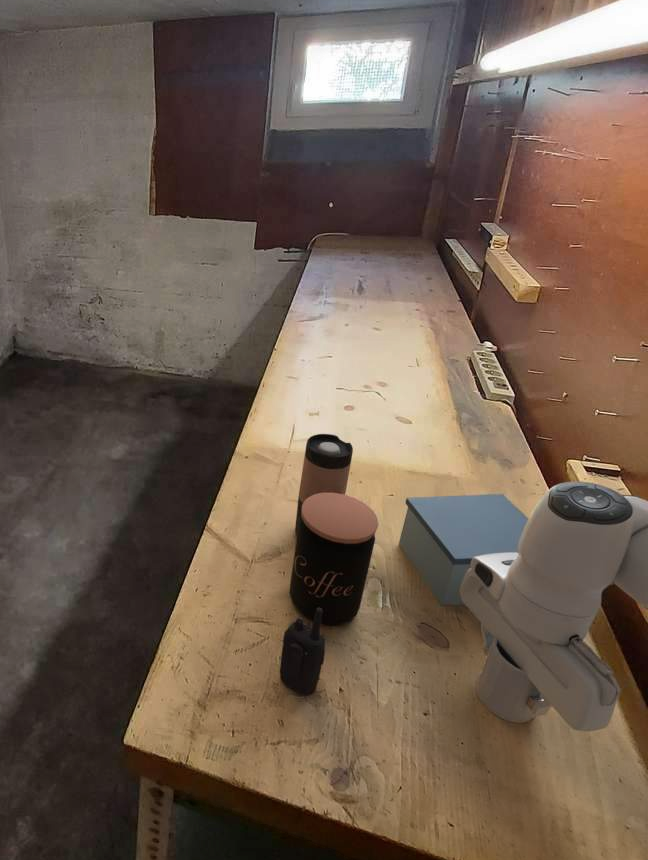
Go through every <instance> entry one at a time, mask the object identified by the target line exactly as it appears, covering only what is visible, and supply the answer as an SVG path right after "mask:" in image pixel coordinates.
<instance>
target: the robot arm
mask: <svg viewBox="0 0 648 860" xmlns="http://www.w3.org/2000/svg"><path fill="white" fill-rule="evenodd" d="M611 585H615V586H617V587H618V588H619V589H620V590H622V591H623V593H625V594H626V595H627V596H629V597H630V598H631V599H633V600H634V601H635V602H636V603H638V605H640V606H641V607H642V608H644V609H645V610H646V611H647V612H648V500H647V499H644V498H642V497H640V496H637V495H632V494H621V493H619V492H618V491H616V490H614V489H612V488H610V487H607V486H605V485H601V484H599V483H593V482H590V481H589V482H588V481H565V482H561V483H557V484H556V485H553V486H552V487H551V488H549V489H548V490H547V491H546V492H545V493H544V494H543V496H541V498H540V499H539V501H538V502H537V503H536V505H535V506H534V508H533V509H532V511H531V513H530V514H529V516H528V521H527V523H526V525H525V527H524V530H523V532H522V535H521V537H520V540H519V543H518V553H516V552H509V553H493V554H486V555H480V556H476V557H473V558H472V560H471V568H470V569H468V571H467V572H466V574H465V576H464V579H463V581H462V584H461V587H460V594H461V598H462V601H463V602H464V604H463V605H465V606H466V607H467V608H468V609H469V611H470V612H471V613H472V614H473V615H474V617H475V618H476V619H477V620H478V621H479V622H480V631H481V636H482V641H483V644H482V646H481V647H480V648H481V651H482V652H483V653H484V654H485V656H487V654H488V651H489V648H490V646H491V643H492V641H493V638H494V637H496V639H497V642H498V643H499V644H500V646H501V647H502V648H503V649H504V650H505V651H506V653H507V654H508V655H509V656H510V657H511V658H512V660H513V661H514V662H515V663H516V664H517V666H518V667H519V668H520V669H521V670H523V671H525V672H526V673H527V675H528V678H529V680H530V681H531V682H532V683H533V684H534V685H535V687H536V688H537V689H538V690H539V691H540V692H541V694H540V695H537V696H529V698H528V702H526V705H527V706H528V707H529V708H530V710H531V711H532V712H533V713H534V716H535V717H539V716H545V715H547V714H548V713H549V711H550V710H551V708H553V709H554V710H555V711H556V713H557V714H558V715H559V716H560V718H561V719H563V721H564V722H565V723H566V724H567V725H568V726H569V728H570V729H572V730H574V731H579V732H593V731H599V730H603V729H605V728H607V727H608V726H609V724H610V722H611V719H612V716H613V713H614V711H615V709H616V706H617V705H616V704H617V701H618V699H619V698H620V696H621V692H622V689H621V686H620V685H619V683H618V680H617V679H616V677H615V676H614V670H613V669H612V667H610V665H609V664H607V662H605V661H604V660H603V659H601V658H600V657H599V656H598V655H597V654H596V653H595V651H594V650H593V649H592V648H591V646H589V645H588V644H587V643H586V642H585V641H584V639H585V638H586V636H587V635H588V632H589V630H590V628H591V626H592V624H593V623H594V621H595V619H596V616H597V614H598V612H599V611H600V608H601V605H602V594H603V591H604V590H605V589H606V588H608V587H609V586H611Z"/></svg>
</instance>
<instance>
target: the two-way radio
mask: <svg viewBox="0 0 648 860" xmlns="http://www.w3.org/2000/svg"><path fill="white" fill-rule="evenodd" d="M322 612H323V610H322V609H321V608H317V609H316V613H315V617H314V621H312V627H311V626H309V625H307V624H305V623H304V619H303V618H301V617H297V618H296V619H295V621H293V622H291V624H289V626H288V627H287V628H286V629H285V631H284V634H283V639H282V648H281V654H280V665H279V667H280V668H279V677H280V680H281V682H282V684H284V685H285V686H286V687H288V688H290V689H291V690H292V691H294V692H296V693H298V694H299V695H303V696H310V695H313V694H314V693H315V692H316V690H317V686H318V683H319V679H320V676H321V672H322V666H323V665H324V662H325V661H324V660H325V655H326V640H325V638H324V635H323V634H322V633H321V627H322V624H321V620H322Z"/></svg>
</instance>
